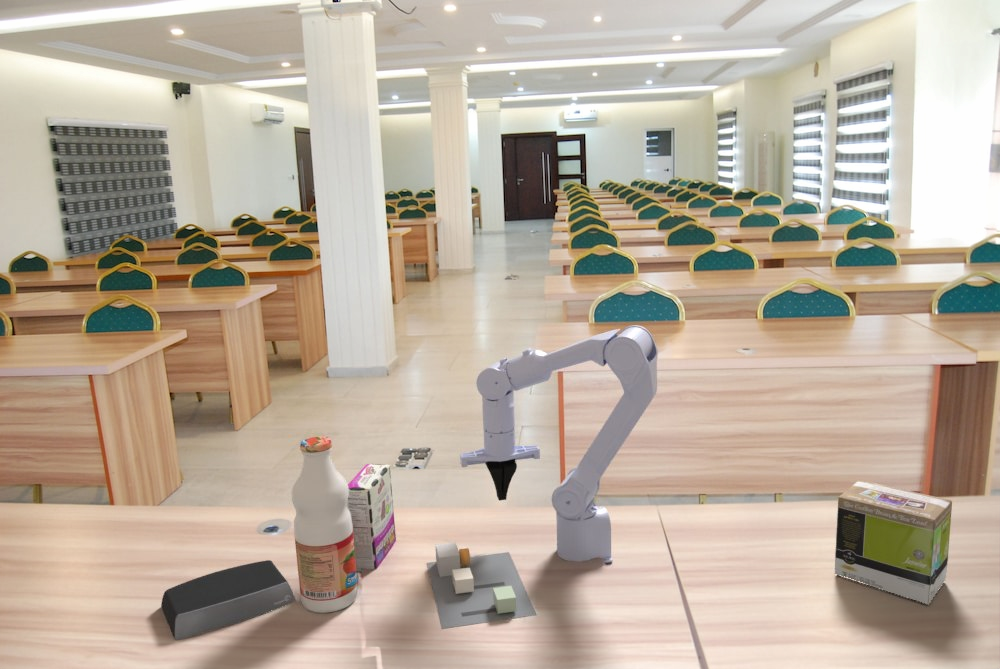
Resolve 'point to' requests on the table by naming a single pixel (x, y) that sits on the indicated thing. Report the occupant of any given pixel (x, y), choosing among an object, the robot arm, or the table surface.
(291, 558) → the table surface
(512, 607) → the sage slider
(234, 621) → the external hard drive
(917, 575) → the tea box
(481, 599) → the control panel
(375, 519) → the candy bar box
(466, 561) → the orange button
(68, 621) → the table surface
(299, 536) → the fruit juice
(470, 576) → the off-white slider
